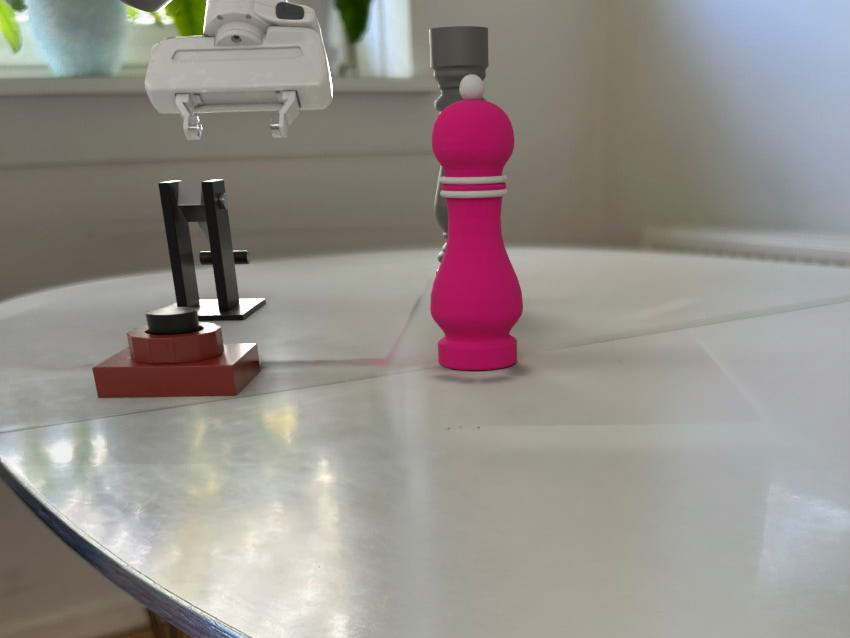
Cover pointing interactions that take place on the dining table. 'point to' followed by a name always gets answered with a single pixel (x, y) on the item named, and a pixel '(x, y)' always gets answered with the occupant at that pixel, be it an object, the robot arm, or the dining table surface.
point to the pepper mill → (475, 236)
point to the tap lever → (201, 218)
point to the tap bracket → (221, 253)
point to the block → (177, 365)
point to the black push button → (172, 321)
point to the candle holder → (454, 83)
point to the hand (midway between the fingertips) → (235, 134)
